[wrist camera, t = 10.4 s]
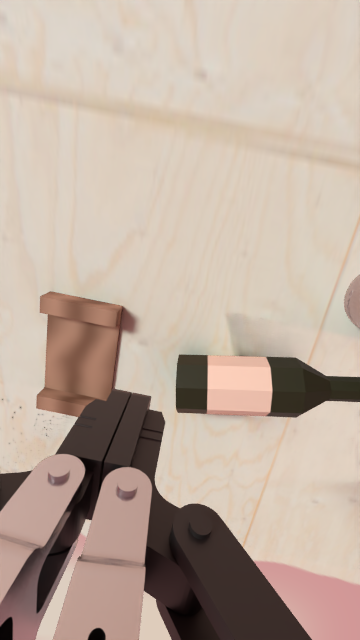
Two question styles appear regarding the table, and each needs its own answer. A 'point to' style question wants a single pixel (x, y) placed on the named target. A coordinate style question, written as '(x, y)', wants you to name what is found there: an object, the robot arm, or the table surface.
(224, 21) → the table surface
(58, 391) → the u rest
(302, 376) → the wine bottle
